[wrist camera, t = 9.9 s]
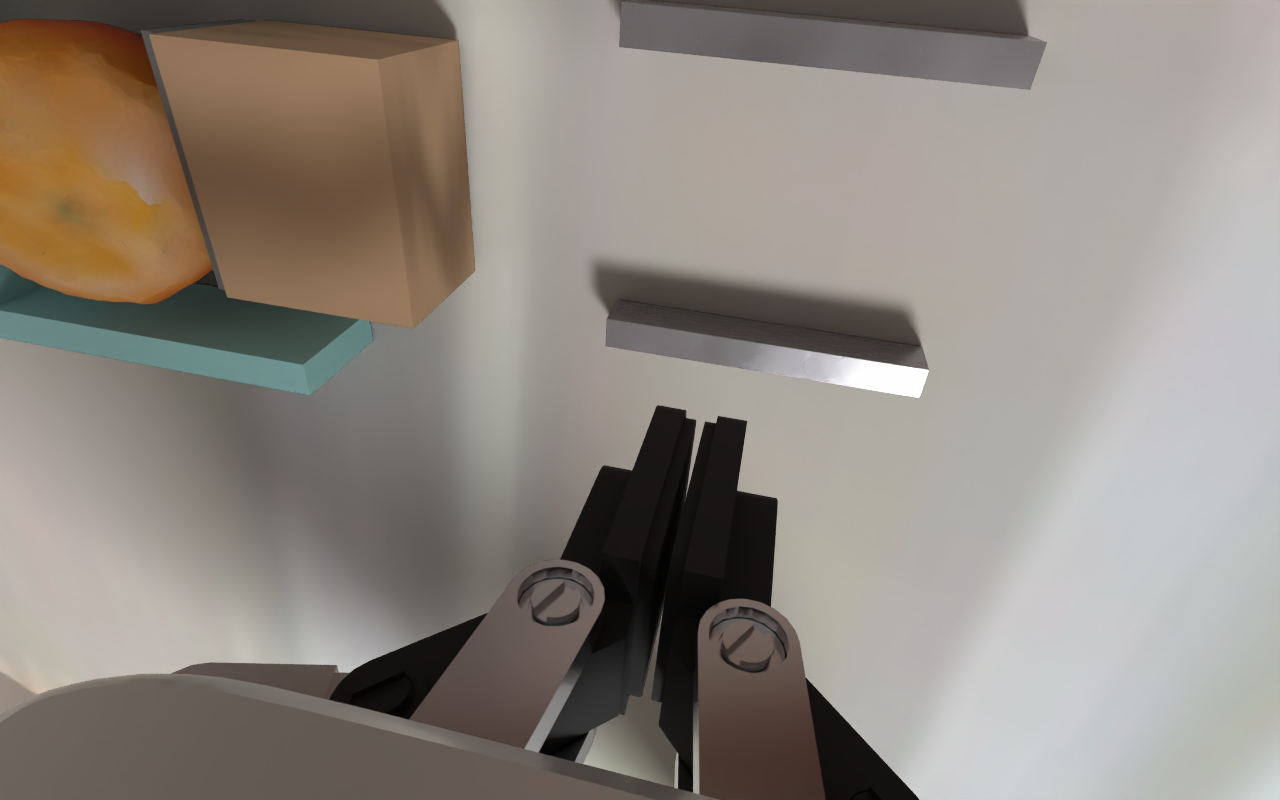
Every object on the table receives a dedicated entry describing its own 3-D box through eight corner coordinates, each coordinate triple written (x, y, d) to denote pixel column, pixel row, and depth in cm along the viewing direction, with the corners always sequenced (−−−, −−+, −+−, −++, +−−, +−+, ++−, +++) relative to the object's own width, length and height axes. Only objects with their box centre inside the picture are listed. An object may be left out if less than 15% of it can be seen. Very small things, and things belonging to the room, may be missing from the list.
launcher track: (913, 373, 22) (919, 397, 21) (616, 325, 24) (605, 346, 22) (1029, 35, 17) (1046, 42, 15) (634, -2, 18) (621, 1, 17)
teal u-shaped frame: (373, 340, 26) (310, 395, 23) (76, 289, 28) (-22, 333, 25) (291, -135, 18) (175, -155, 15) (-120, -164, 20) (-305, -188, 16)
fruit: (-54, -63, 20) (-212, 9, 14) (259, 19, 23) (232, 102, 17) (6, 196, 24) (-95, 326, 19) (259, 231, 28) (237, 350, 22)
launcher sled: (475, 270, 23) (413, 328, 20) (299, 243, 24) (209, 294, 20) (458, 40, 19) (377, 59, 16) (249, 18, 20) (127, 31, 16)
